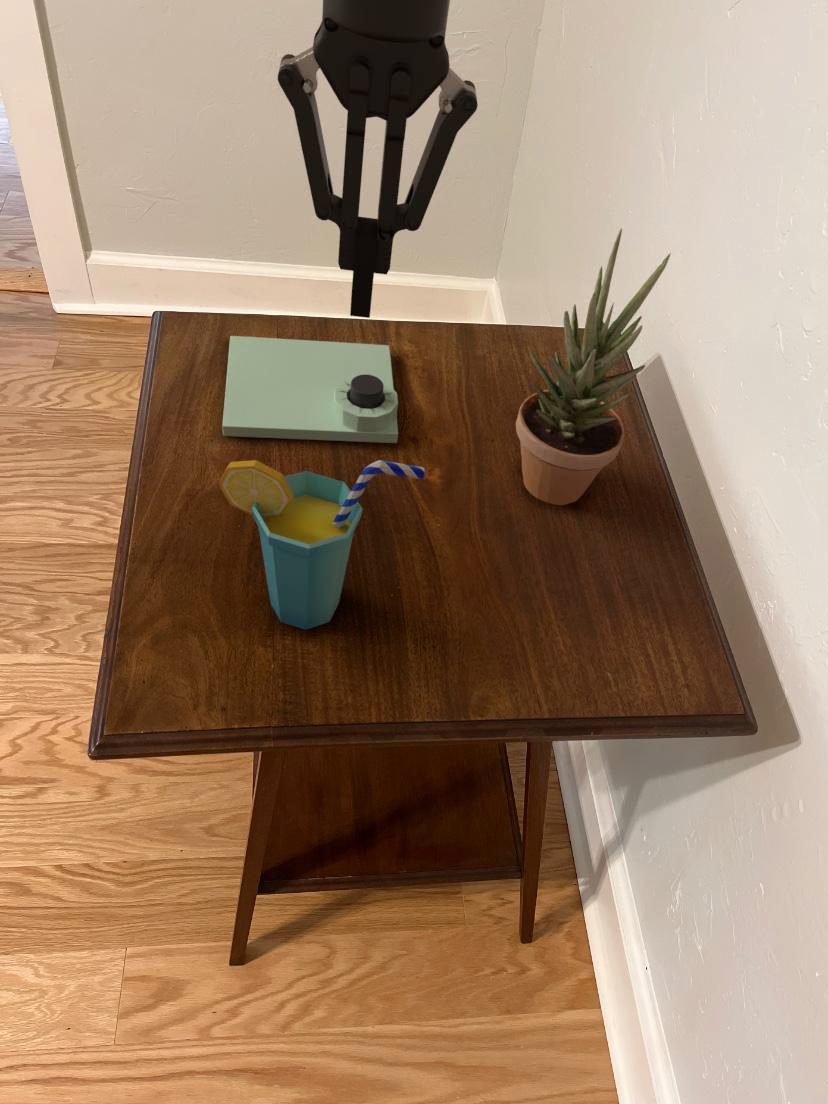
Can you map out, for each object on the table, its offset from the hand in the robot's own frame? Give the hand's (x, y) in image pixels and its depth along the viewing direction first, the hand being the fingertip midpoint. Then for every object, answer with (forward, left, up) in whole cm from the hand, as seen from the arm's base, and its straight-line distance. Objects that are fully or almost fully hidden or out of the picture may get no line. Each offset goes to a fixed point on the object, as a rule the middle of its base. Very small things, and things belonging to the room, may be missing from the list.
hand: (360, 306), depth 70 cm
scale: (-7, +8, -17) cm, 20 cm away
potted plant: (+18, +7, -17) cm, 25 cm away
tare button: (-1, +7, -14) cm, 15 cm away
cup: (+4, -16, -17) cm, 23 cm away
